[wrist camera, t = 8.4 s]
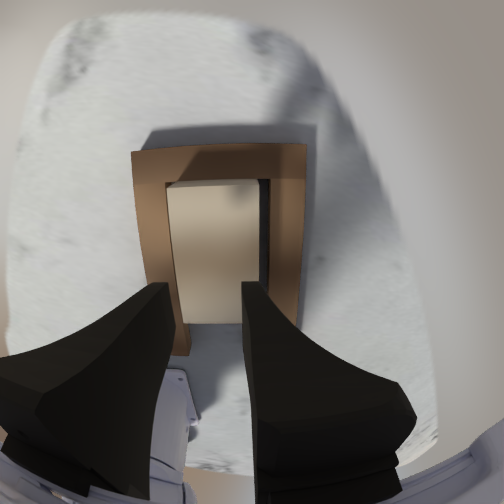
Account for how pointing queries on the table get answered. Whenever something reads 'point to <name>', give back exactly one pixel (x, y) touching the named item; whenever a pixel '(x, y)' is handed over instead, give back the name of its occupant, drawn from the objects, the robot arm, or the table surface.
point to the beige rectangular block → (214, 246)
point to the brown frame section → (213, 168)
